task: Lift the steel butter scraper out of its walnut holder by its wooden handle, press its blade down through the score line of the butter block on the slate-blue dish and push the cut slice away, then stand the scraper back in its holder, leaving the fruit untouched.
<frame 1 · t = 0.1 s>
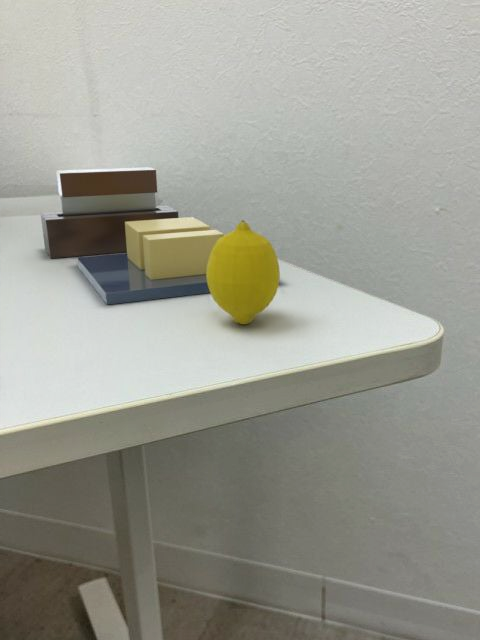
scraper holder: (113, 248, 73), on the table
butter block: (168, 260, 65), point 1 cm above the table, touching butter dish
fruit: (243, 325, 52), on the table
butter dish: (175, 275, 64), on the table
scraper: (110, 210, 71), in the scraper holder
butter slice: (185, 273, 61), point 1 cm above the table, touching butter dish
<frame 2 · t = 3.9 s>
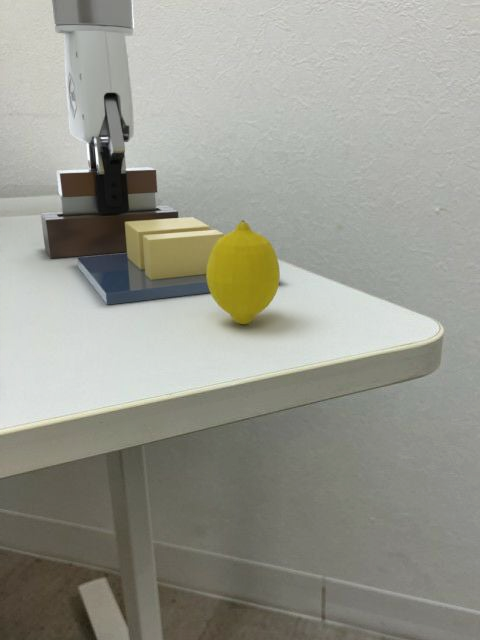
hand: (110, 208, 71), 4 cm above the table, tool pointing down, fingers closed on scraper, 2 cm apart
scraper: (110, 210, 71), in the scraper holder, touching gripper
everything else where it was.
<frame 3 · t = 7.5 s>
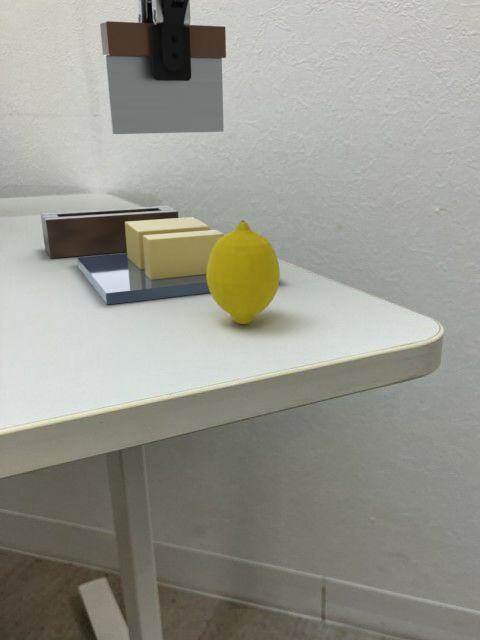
hand: (166, 78, 56), 17 cm above the table, tool pointing down, fingers closed on scraper, 2 cm apart
scraper: (167, 80, 56), point 17 cm above the table, touching gripper
everything else where it was.
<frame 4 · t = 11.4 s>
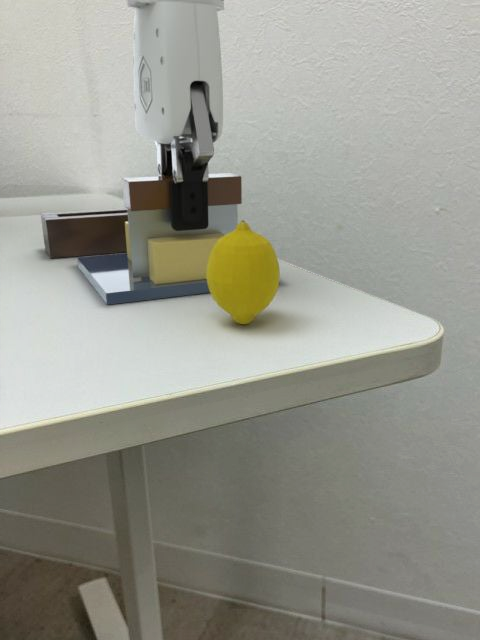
hand: (184, 224, 59), 6 cm above the table, tool pointing down, fingers closed on scraper, 2 cm apart
scraper: (185, 225, 59), point 5 cm above the table, touching butter slice, gripper
butter slice: (190, 277, 59), point 1 cm above the table, touching butter dish, scraper
everything else where it was.
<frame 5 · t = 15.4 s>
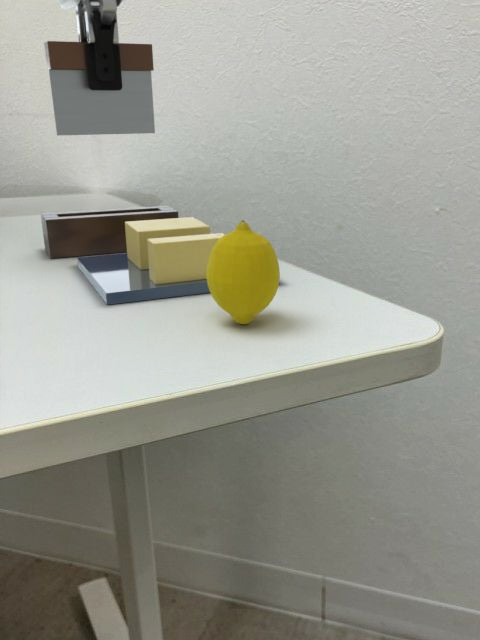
hand: (102, 88, 66), 16 cm above the table, tool pointing down, fingers closed on scraper, 2 cm apart
scraper: (103, 89, 66), point 16 cm above the table, touching gripper
butter slice: (190, 277, 59), point 1 cm above the table, touching butter dish
everything else where it was.
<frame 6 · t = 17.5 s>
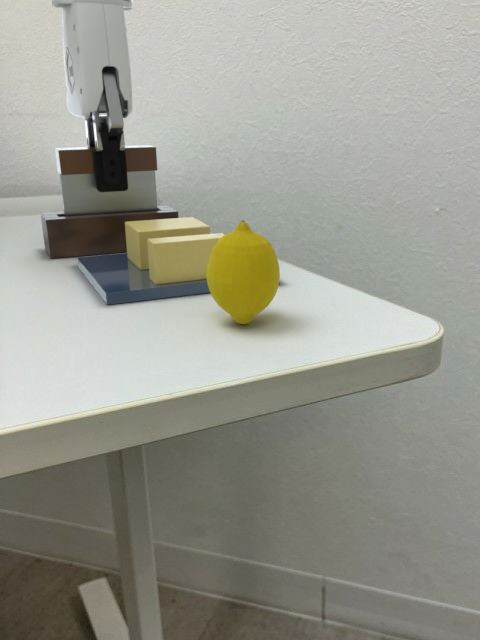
hand: (109, 187, 70), 7 cm above the table, tool pointing down, fingers closed on scraper, 2 cm apart
scraper: (110, 188, 70), point 6 cm above the table, touching gripper
everything else where it was.
when the fingers open (4 cm above the table, at t = 18.4 s): scraper stays where it is, resting in scraper holder.
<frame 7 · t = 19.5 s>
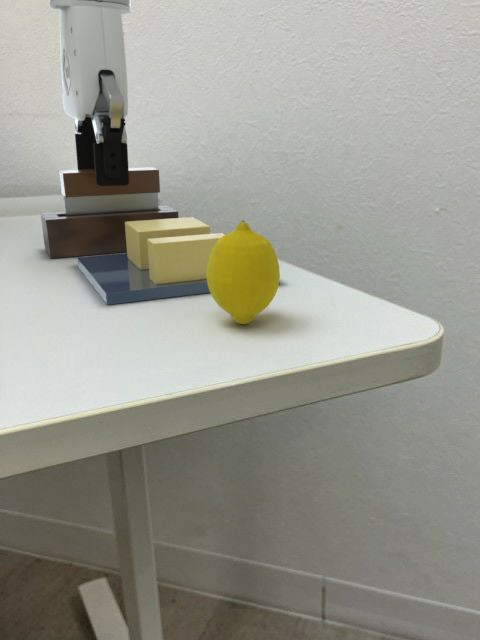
hand: (102, 178, 70), 8 cm above the table, tool pointing down, fingers open, 9 cm apart
scraper: (113, 210, 71), in the scraper holder
everything else where it was.
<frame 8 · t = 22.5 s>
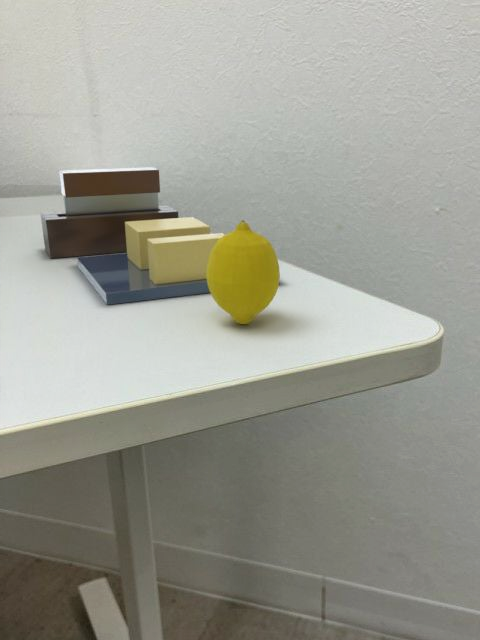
nothing on the table moved.
at the end: butter slice moved 1.5 cm from its start; scraper 0.3 cm off-centre on the scraper holder, point 4.2 cm above the scraper holder's base; fruit moved 0.2 cm from its start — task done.
